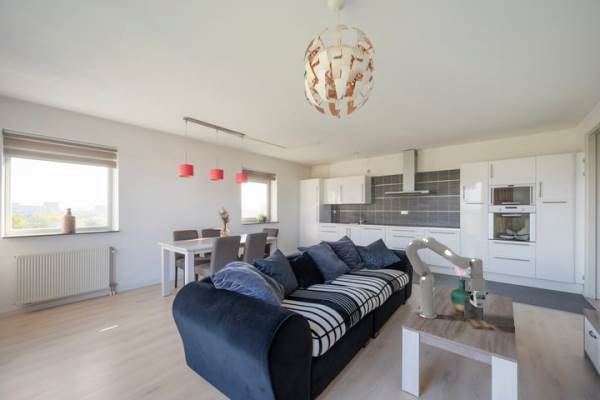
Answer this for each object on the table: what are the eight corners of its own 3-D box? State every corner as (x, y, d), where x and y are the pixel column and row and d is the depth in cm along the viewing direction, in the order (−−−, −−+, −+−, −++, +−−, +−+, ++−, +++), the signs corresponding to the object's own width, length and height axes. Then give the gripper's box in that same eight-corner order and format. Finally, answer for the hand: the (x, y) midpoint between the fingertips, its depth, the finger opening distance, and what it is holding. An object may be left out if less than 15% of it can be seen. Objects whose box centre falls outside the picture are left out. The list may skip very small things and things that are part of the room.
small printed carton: (472, 328, 177) (471, 302, 178) (464, 320, 191) (463, 296, 192) (492, 330, 174) (491, 303, 175) (482, 321, 188) (481, 297, 189)
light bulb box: (487, 308, 176) (486, 292, 176) (476, 307, 177) (475, 292, 178) (479, 303, 186) (478, 288, 187) (469, 302, 188) (468, 287, 188)
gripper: (465, 276, 181) (466, 301, 180) (493, 277, 177) (494, 303, 176) (461, 274, 189) (462, 298, 188) (487, 275, 185) (488, 299, 184)
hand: (477, 300), depth 182 cm, fingers closed on light bulb box, 6 cm apart
